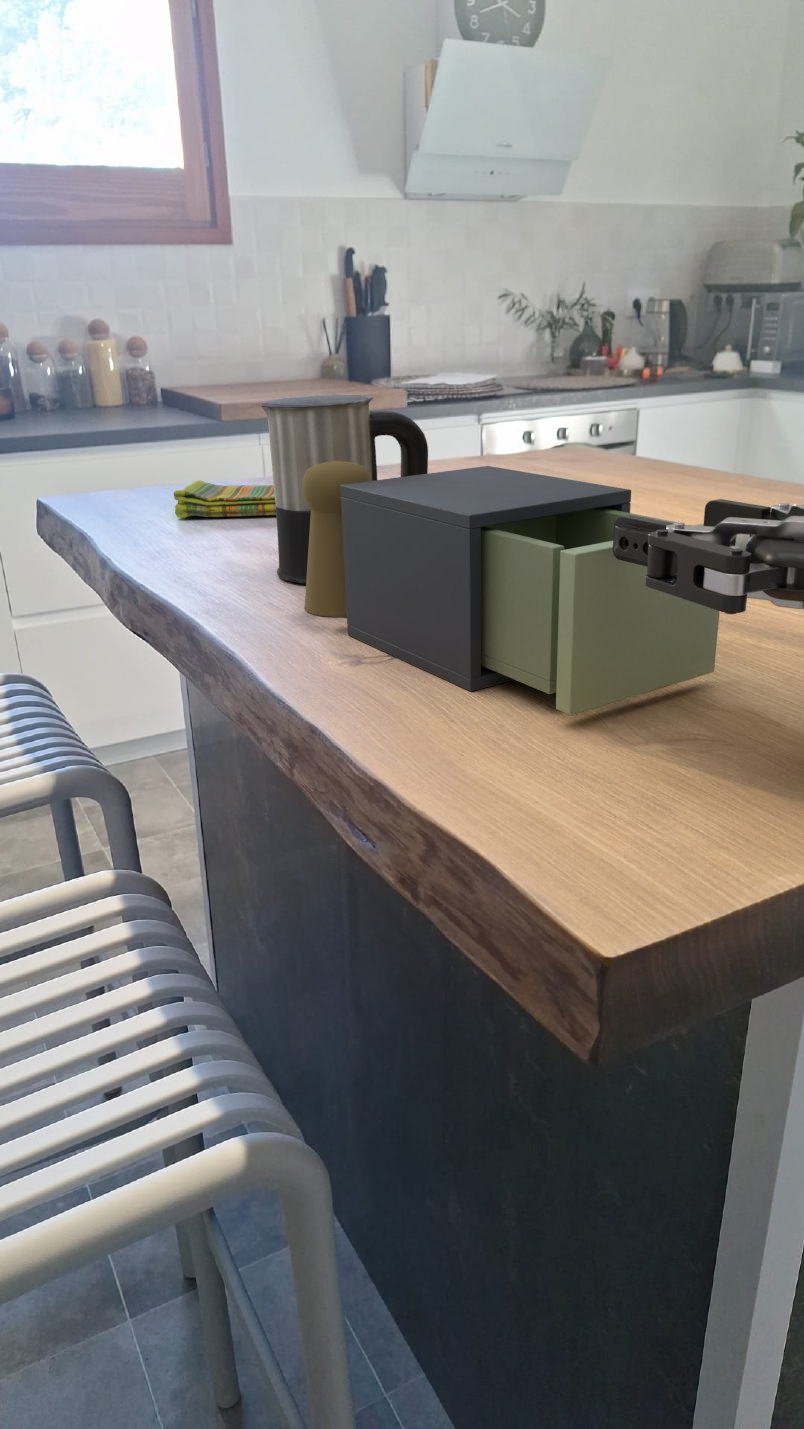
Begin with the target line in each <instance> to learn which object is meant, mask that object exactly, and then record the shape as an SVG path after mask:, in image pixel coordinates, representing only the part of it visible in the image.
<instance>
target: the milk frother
mask: <svg viewBox="0 0 804 1429" xmlns="http://www.w3.org/2000/svg"><path fill="white" fill-rule="evenodd" d="M373 399H374V397H373V396H371V395H364V394H363V395H362V394H327V395H326V394H325V395H323V394H322V395H308V396H306V395H305V396H295V397H283V398H277V399H270V400H266V401H264V402H262V403H261V404H260V406H261V409H263V411H264V412H265V415H266V418H267V425H268V438H269V447H270V459H271V471H272V472H271V473H272V482H273V484H272V485H274V494H275V503H276V506H275V507H276V515H275V516H276V517H275V518H276V527H277V528H276V530H277V548H278V549H277V551H278V568H277V569H276V574H277V576H278V577H279V578H280V579H282V580H284V581H289V582H292V583H297V584H305V585H306V579H307V563H308V548H309V533H310V518H311V508H310V507H309V506H308V504H307V503H306V502H305V499H304V496H303V493H302V481H303V477H304V475H305V473H306V471H307V469H309V468H310V467H311V466H314V465H317V464H321V463H326V462H333V461H343V462H351V463H356V464H359V465H361V466H363V467H365V468H366V470H367V472H368V473H369V476H370V479H371V481H375V480H378V466H377V451H376V450H377V449H376V438H377V437H380V436H388V437H392V438H394V439H395V441H396V442H397V444H398V446H399V448H400V477H405V476H413V475H421V474H429V472H428V471H429V470H428V469H429V446H428V441H427V438H426V435H425V432H424V431H423V430H422V429H421V427H420V426H419V425H418V423H416V422H415V421H414V420H413V419H412V418H410V417H409V416H407V415H405V414H403V413H400V412H396V411H391V410H372V411H371V410H370V402H372V401H373Z"/></svg>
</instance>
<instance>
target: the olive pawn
mask: <svg viewBox="0 0 804 1429" xmlns="http://www.w3.org/2000/svg"><path fill="white" fill-rule="evenodd" d="M367 481H371V479H370V476H369V473H368V472H367V470H366V468H365V467H363V466H361V465H359V464H356V463H351V462H343V461H333V462H326V463H321V464H317V465H314V466H311V467H310V468H309V469H307V471H306V473H305V475H304V477H303V481H302V493H303V496H304V499H305V502H306V503H307V504H308V506H309V507H310V508H311V518H310V533H309V548H308V563H307V579H306V584H305V595H304V610H305V611H306V612H307V613H309V614H312V615H315V616H320V617H330V618H331V617H332V618H343V617H344V618H347V609H346V589H345V569H344V550H343V530H342V510H341V488H340V486H341V485H344V484H351V483H359V482H367Z"/></svg>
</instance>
